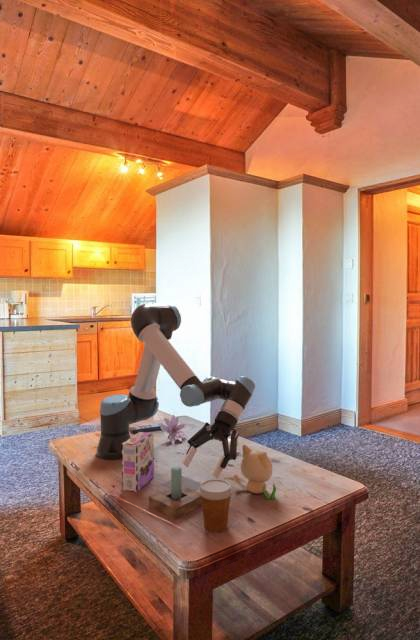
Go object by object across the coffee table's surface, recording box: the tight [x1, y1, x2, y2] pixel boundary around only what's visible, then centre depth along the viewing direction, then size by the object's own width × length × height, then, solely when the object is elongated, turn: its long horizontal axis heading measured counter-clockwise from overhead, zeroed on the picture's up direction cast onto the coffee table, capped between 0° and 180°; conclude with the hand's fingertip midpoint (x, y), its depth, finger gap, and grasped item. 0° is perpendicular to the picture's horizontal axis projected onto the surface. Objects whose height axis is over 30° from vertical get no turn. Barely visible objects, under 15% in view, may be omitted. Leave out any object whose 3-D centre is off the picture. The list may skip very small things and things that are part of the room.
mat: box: [160, 475, 202, 491], centre depth 152 cm, size 12×10×1 cm
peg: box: [170, 466, 183, 501], centre depth 137 cm, size 3×3×12 cm
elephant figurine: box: [228, 438, 240, 450], centre depth 184 cm, size 7×8×6 cm
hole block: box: [148, 486, 202, 520], centre depth 137 cm, size 12×12×4 cm
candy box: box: [121, 431, 155, 493], centre depth 153 cm, size 14×6×16 cm, turn 163°
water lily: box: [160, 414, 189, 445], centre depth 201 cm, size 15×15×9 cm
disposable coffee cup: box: [198, 478, 233, 533], centre depth 125 cm, size 10×10×12 cm
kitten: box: [232, 444, 277, 500], centre depth 147 cm, size 15×10×15 cm
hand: (199, 470), depth 145 cm, fingers open, 13 cm apart
